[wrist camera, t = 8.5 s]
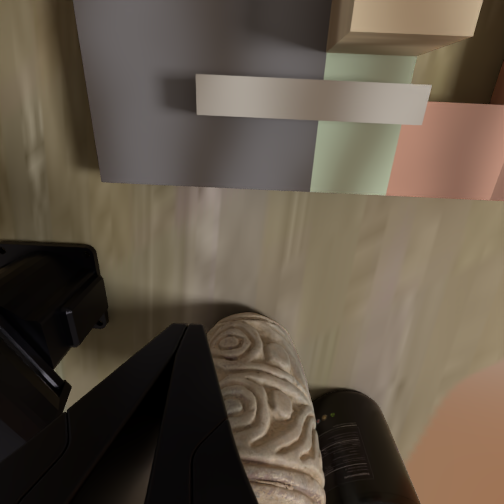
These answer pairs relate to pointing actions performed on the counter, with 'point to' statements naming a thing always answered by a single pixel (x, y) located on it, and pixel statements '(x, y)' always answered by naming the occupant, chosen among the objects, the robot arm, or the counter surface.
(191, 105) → the channel deck
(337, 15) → the maple block
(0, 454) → the robot arm
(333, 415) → the supplement bottle
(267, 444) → the carving
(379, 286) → the counter surface
